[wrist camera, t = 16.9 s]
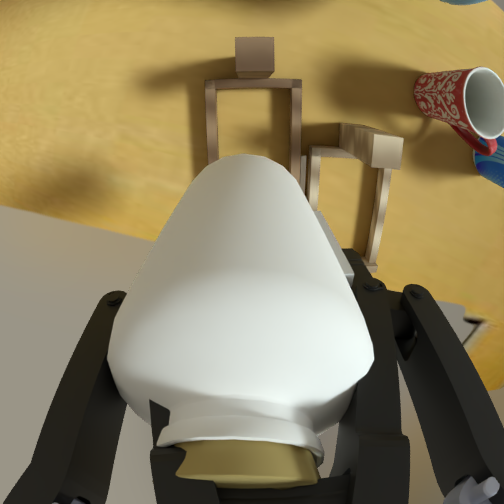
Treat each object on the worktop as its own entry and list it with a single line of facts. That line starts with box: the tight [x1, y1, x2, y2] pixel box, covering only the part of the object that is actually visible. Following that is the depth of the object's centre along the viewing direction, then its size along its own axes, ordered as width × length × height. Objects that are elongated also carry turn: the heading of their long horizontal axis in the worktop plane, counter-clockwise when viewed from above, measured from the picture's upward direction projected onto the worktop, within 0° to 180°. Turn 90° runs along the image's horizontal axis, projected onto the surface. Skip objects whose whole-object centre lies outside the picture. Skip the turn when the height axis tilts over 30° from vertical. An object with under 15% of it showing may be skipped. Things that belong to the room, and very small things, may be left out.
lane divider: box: [299, 155, 306, 195], centre depth 42 cm, size 16×1×1 cm, turn 1°
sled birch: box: [307, 123, 404, 273], centre depth 36 cm, size 22×12×12 cm, turn 1°
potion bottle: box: [107, 154, 374, 490], centre depth 13 cm, size 8×8×18 cm
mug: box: [414, 67, 504, 156], centre depth 28 cm, size 13×9×14 cm
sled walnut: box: [205, 37, 302, 184], centre depth 32 cm, size 22×12×12 cm, turn 1°
